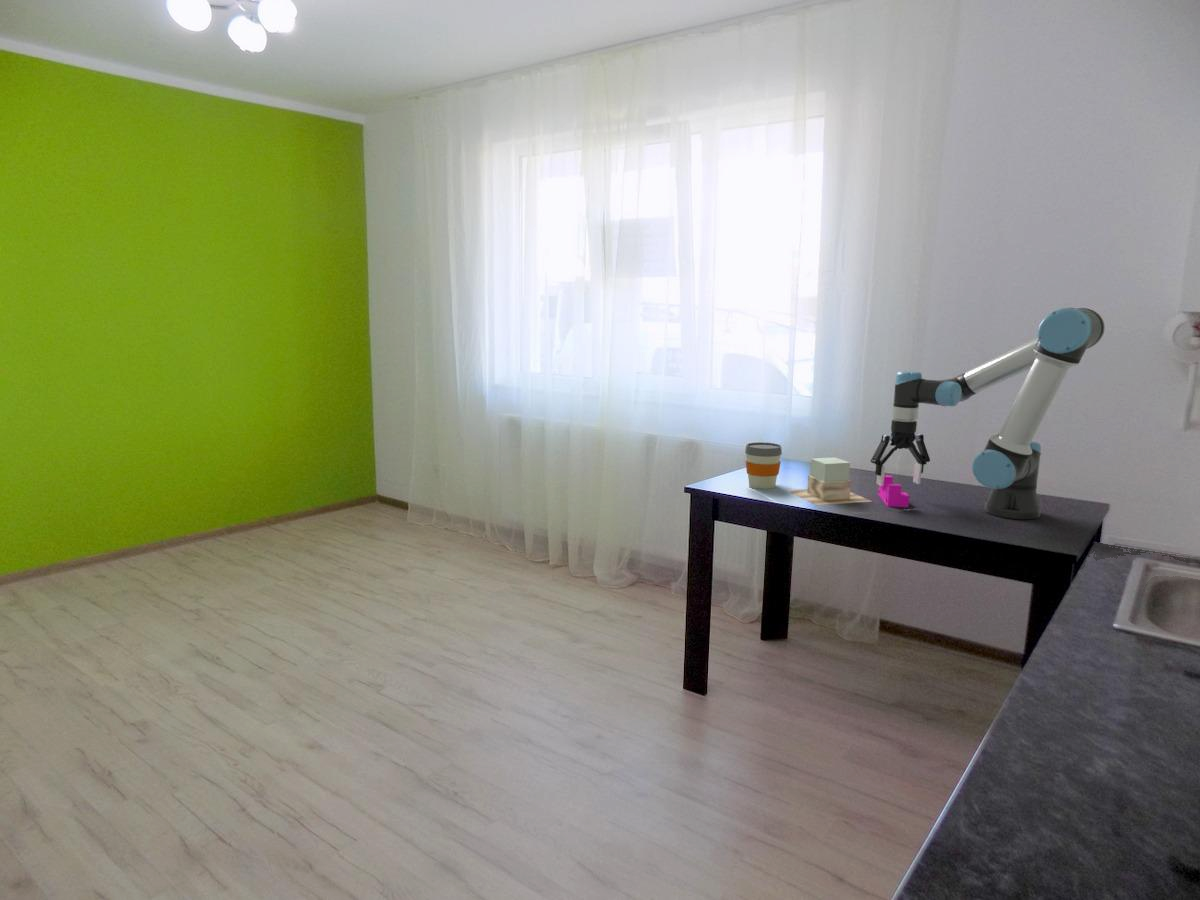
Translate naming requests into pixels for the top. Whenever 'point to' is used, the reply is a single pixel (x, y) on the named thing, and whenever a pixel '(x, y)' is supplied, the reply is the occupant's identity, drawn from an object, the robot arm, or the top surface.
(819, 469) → the tower top
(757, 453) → the reusable coffee cup
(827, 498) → the tower base
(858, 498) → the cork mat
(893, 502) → the toy block
